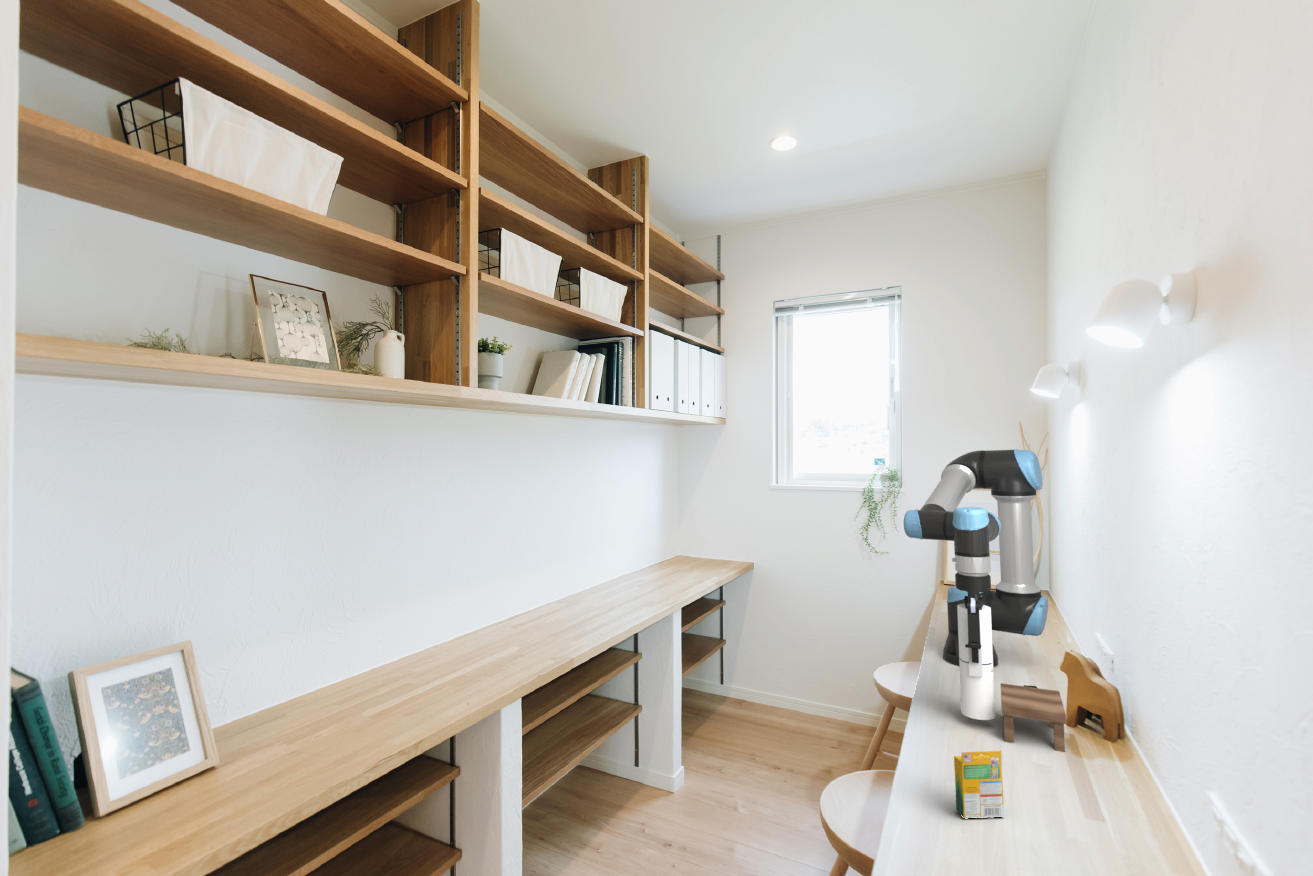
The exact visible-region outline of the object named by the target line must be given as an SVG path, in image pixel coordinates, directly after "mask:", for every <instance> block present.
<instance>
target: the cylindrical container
mask: <svg viewBox="0 0 1313 876" xmlns="http://www.w3.org/2000/svg"><path fill="white" fill-rule="evenodd" d="M957 613H958V639H959V666H958V667H959V687H960V710H961V711H960V713H962V715H963V716H964V717H968V718H970V719H973V720H980V721H989V720H991V721H992V720H993V719H995V718H996V707H995V704H996V703H995V680H994V679H995V678H994V677H995V676H994V674H995V673H994V667H993V647H992V643H993V630H992V623H991V608H990V607H989V606H986V605H983V607H982V610H979V618H980V641H981V648H982V674H983V677H977V676H969V652H968V648H967V647H965V644H966V645H968V615H967V609H966V607H965V604H959V605H957Z"/></svg>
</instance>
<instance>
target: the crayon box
mask: <svg viewBox="0 0 1313 876" xmlns="http://www.w3.org/2000/svg"><path fill="white" fill-rule="evenodd" d="M953 762H954V764H953V765H954V767H953V768H954V782H955V786H954V787H955V810H957V811H958V812H959V813H960V814H961V815H962V816H963V817H964V818H972V817H977V818H979V817H991V816H992V817H1004V818H1005V805H1004V785H1003V767H1002V765H1003V763H1002V750H987V751H964V752H963V751H962V752H961V755H955V756H953ZM957 811H956V812H957ZM958 812H957V813H958ZM959 813H958V814H959ZM960 814H959V815H960Z"/></svg>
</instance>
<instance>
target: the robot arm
mask: <svg viewBox="0 0 1313 876" xmlns="http://www.w3.org/2000/svg"><path fill="white" fill-rule="evenodd" d="M975 489H977V490H978V489H983V490H990V493H991V497H993V499H995V501H996V502H997V516H996V514H995V513H992V512H990V511H988V510H987V509H986V508H984V507H975V506H965V507H964V506H962V507H959V505H960V504H961V502H962V501H963V498H964V497H965V495H966V494H968V493H970V492H971V491H972V490H975ZM1042 489H1043V474H1042V469H1041V465H1040V462H1039V459H1038V456H1037V454H1036V453H1035V452H1034V451H1032V450H1030V449H1017V448H1016V449H1015V448H1014V449H996V450H995V449H994V450H993V449H991V450H990V449H989V450H975V451H974V450H973V451H970V452H969V451H968V452H967V453H964V454H962V455H960V456H958V457H956V458H955V459H953V460H952V461H950V462H949V463H948V464H946V466H945V467H944V469H943V470H942V471H941V474H940V480H939V482H938V484H937V485H936V486H935V488H934V490H933V491H932V492H931V494H930V495H929V497H928V498H927V499H926V501H925V502H924V504H923V506H922V507H921V508H920V509H917V508H916V509H909V510H906V512H905V514H904V518H903V530H904V533H905V536H907V537H908V538H911V539H919V540H931V541H932V540H934V541H935V540H936V541H948V542H949V541H950V542H953V548H954V557H952V559H951V561H952V562H953V563H954V569H955V571H956V573H955V574H954V577H955V585H952V586H950V587H949V588H948V589H947V598H946V599H947V600H946V605H947V621H948V622H947V626H948V630H947V632H948V634H947V637H946V641H945V642H944V643H945V644H944V647H943V650H942V657H943V660H944V661H945V662H948V663H949V664H951V665H954V666H958V667H960V666H959V639H958V613H957V605H959V604H965V607H966V609H967V615H968V645H966V644H965V647H967V648H968V652H969V676H977V677H983V674H982V648H981V641H980V618H979V610H982V607H983V605H986V606H989V607H990V608H991V623H992V631H995V632H996V631H997V632H1002V633H1003V632H1004V633H1011V634H1016V635H1022V636H1032V637H1033V636H1034V637H1038V636H1041V635H1042V634H1043V632H1044V630H1045V627H1046V623H1047V618H1048V610H1049V602H1048V601H1049V599H1048V596H1046V595H1042V591H1041V587H1039V586H1038V585H1037V584H1036V583H1035V567H1034V564H1035V563H1034V549H1033V548H1034V545H1033V527H1032V523H1033V522H1032V521H1033V520H1032V500H1034V498H1037V491H1039V490H1042ZM997 538H998V542H999V545H998V547H999V567H1000V570H999V571H1000V581H999V582H998V583H997V584H995V590H992V584H991V583H992V582H991V581H992V580H991V578H992V577H991V575H990V573H991V555H990V542H992V541H994V540H996V539H997ZM992 647H993V668H995V667H997V666H998V665H999V655H998V653H997V651H996V648H995V645H994V643H993V642H992Z"/></svg>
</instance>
